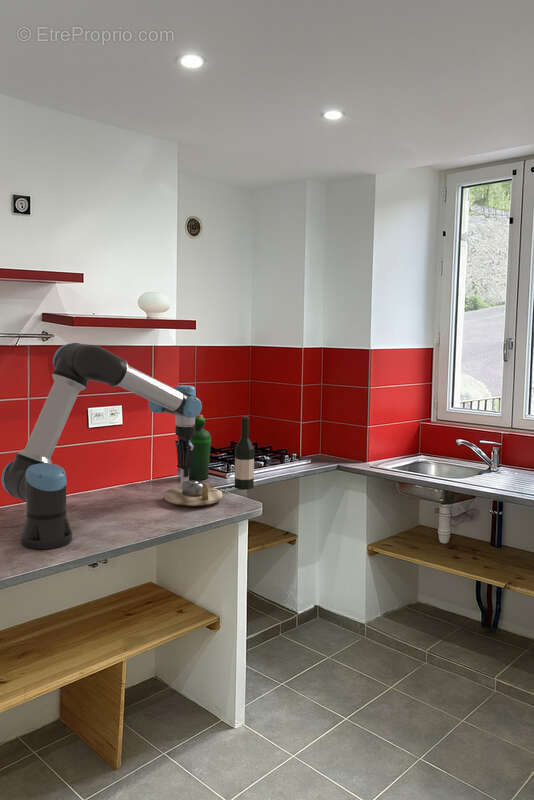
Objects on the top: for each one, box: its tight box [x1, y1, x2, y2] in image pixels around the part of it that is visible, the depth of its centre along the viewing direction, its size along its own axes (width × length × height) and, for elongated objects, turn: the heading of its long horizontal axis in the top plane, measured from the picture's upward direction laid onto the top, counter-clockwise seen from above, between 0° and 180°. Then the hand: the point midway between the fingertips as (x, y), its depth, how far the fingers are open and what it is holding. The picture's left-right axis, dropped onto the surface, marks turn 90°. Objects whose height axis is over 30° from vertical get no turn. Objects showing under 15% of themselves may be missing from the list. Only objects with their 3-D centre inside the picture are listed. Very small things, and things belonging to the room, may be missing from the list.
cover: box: [181, 480, 206, 497], centre depth 250 cm, size 9×9×5 cm
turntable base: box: [175, 503, 214, 508], centre depth 251 cm, size 16×16×1 cm
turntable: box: [164, 482, 223, 506], centre depth 250 cm, size 22×22×8 cm
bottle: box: [189, 414, 212, 481], centre depth 285 cm, size 11×11×28 cm
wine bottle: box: [234, 415, 255, 491], centre depth 272 cm, size 8×8×30 cm
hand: (184, 484), depth 257 cm, fingers closed
